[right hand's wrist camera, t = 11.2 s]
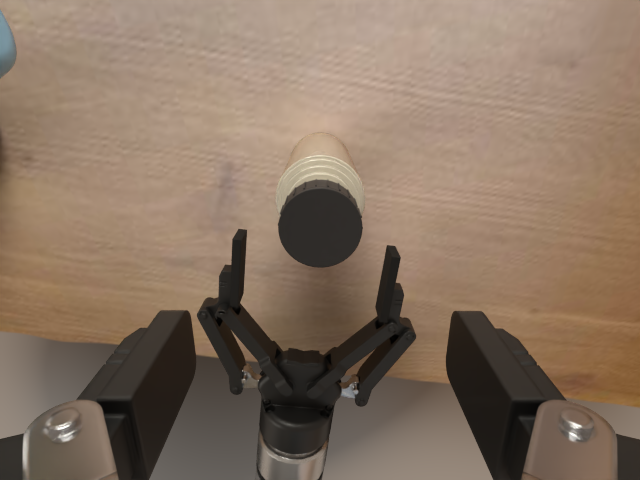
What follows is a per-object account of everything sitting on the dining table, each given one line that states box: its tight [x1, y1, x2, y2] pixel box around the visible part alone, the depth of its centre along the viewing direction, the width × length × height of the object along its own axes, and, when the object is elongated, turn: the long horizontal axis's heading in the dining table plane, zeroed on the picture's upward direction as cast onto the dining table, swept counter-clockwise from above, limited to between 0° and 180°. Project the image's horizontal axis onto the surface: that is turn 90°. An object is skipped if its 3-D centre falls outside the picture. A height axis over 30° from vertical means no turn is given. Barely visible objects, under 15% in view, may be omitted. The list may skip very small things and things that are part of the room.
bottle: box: [275, 133, 365, 217], centre depth 30 cm, size 6×6×19 cm
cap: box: [278, 179, 363, 267], centre depth 22 cm, size 4×4×2 cm
